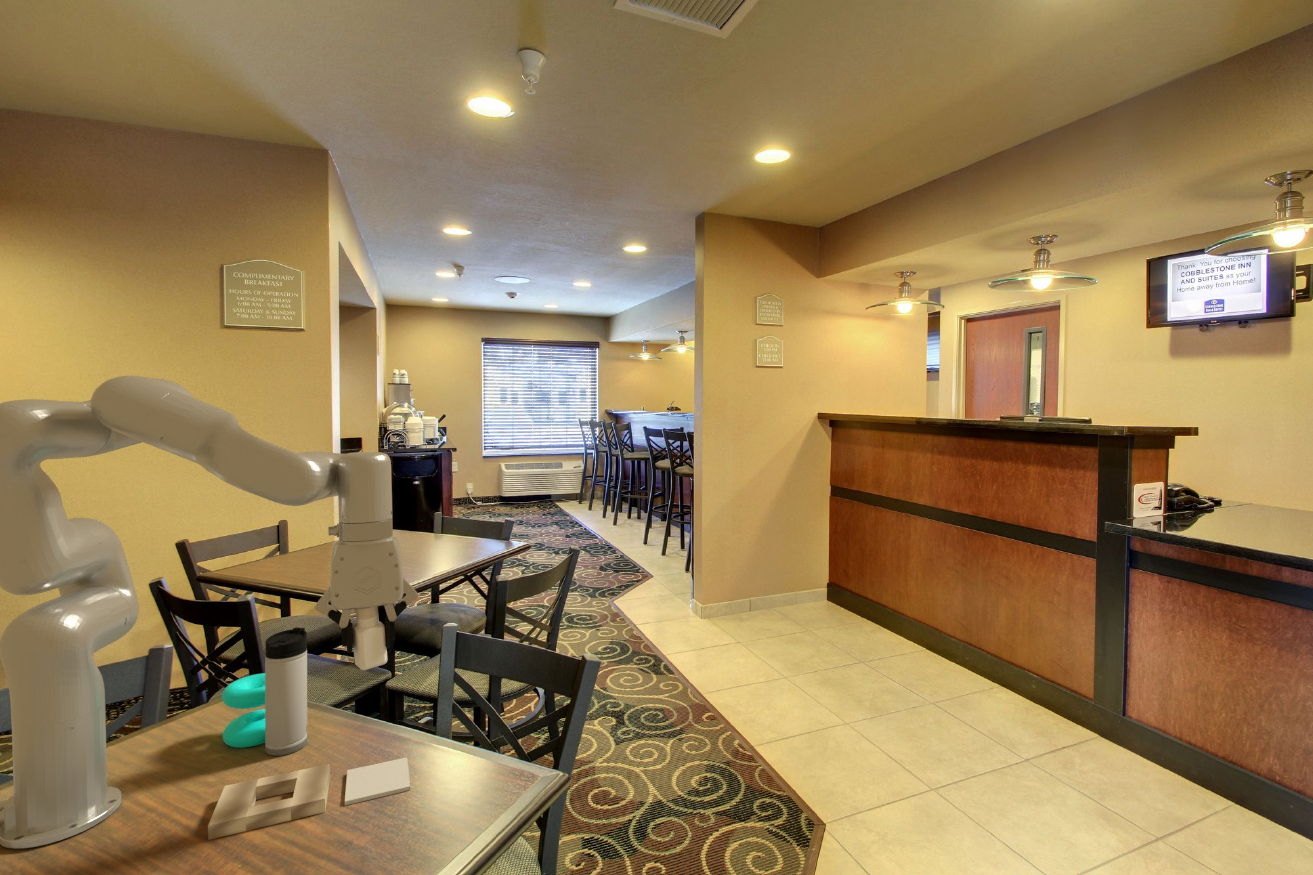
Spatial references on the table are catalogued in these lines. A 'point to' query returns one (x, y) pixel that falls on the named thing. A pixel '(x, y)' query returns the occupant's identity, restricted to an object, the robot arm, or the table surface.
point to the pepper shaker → (369, 639)
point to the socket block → (240, 798)
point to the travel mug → (286, 692)
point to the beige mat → (377, 781)
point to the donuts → (251, 724)
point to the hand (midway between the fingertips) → (369, 646)
